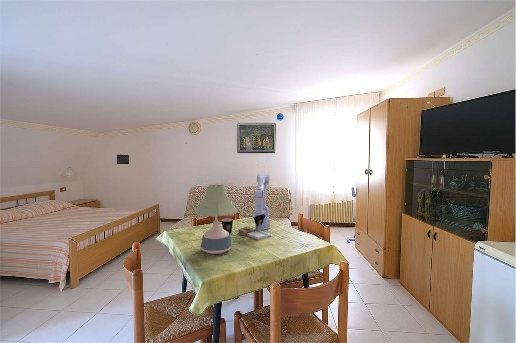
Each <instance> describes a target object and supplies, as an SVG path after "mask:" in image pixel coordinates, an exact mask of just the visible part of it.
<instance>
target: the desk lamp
mask: <svg viewBox="0 0 516 343" xmlns="http://www.w3.org/2000/svg"><path fill="white" fill-rule="evenodd" d="M238 213H239V211H238V209H237V208H236V207H235V205H234V204H233V203H232V201H231V200H230V198H229V196H228V194H227V191H226V187H225V185H223V184H218V182H215V183H214V184H209V185H208V186H207V189H206V191H205V194H204V197H203V199H202V201H201V202H200V204H199V205H198V206H196V208H195V209H194V214H195V215H197V216H201V217H202V216H205V217H206V216H207V217H214V220H213V221H212V227H211V228H210V229H209V230H207V231H205V232H204V233H203V235H202V238H201V244H200V249H201V251H202V252H204V253H207V254H210V255H220V254H223V253H226V252H228V251H230V249H232V246H233V244H232V239H231V235H230V234H229V232H227V231H225V230H224V229H223V227H221V223H220V221H219V220H218V219H219V218H218V217H224V216H229V215H233V214H238Z"/></svg>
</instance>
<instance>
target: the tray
mask: <svg viewBox="0 0 516 343" xmlns="http://www.w3.org/2000/svg"><path fill="white" fill-rule="evenodd" d="M271 235H272V234H271V233H268V232H266V231H264V230H260V232H256V231H255V232H251V233H248V235H247V237H249V238H252V239H254V240H257V241H259V240H263V239H267V238H271Z"/></svg>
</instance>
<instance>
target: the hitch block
mask: <svg viewBox="0 0 516 343" xmlns="http://www.w3.org/2000/svg"><path fill="white" fill-rule="evenodd" d="M255 229H256V228H253V227H250V226H247V227H241V228H238V230H237V234H239V235H241V236H244V237H246V236H247V237H248V233H251V232H256V231H255Z"/></svg>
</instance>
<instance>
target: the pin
mask: <svg viewBox="0 0 516 343" xmlns="http://www.w3.org/2000/svg"><path fill="white" fill-rule="evenodd" d="M261 221H262V219H260V220H259V226H256V225H255V228H254V229H255V232H260V231H261V230H260V224H261Z"/></svg>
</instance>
